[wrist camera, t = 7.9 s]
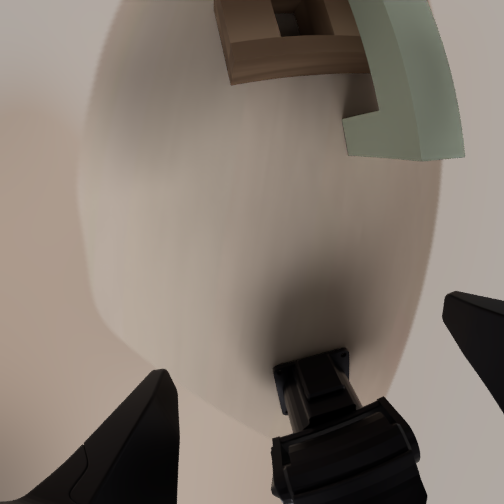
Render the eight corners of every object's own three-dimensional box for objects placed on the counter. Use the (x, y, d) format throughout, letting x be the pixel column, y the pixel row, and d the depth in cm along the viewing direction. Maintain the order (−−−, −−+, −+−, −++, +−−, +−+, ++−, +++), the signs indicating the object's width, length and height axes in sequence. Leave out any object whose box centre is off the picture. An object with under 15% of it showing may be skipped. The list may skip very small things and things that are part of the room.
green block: (385, 151, 18) (465, 157, 11) (348, 155, 18) (421, 161, 10) (355, 22, 15) (415, -25, 7) (316, 20, 15) (366, -36, 7)
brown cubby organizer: (396, 74, 16) (438, 60, 12) (230, 85, 16) (234, 60, 11) (375, 6, 14) (408, -19, 10) (213, 9, 14) (212, -30, 9)
